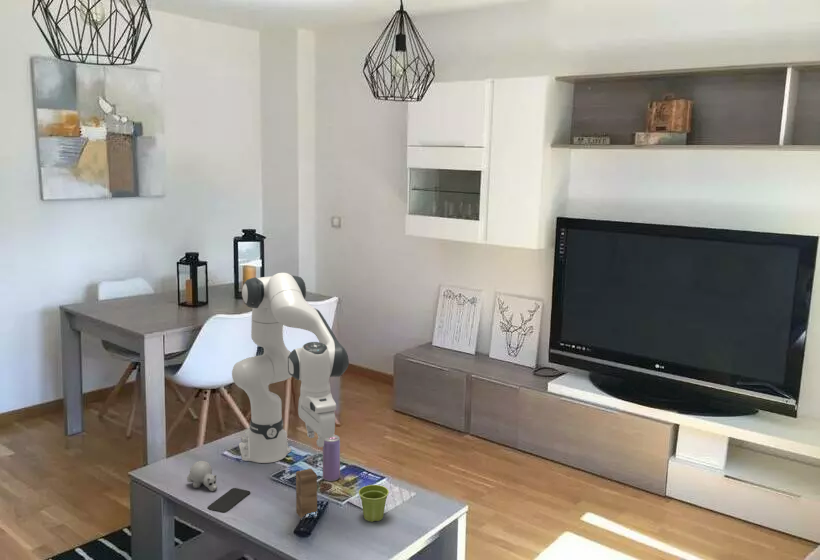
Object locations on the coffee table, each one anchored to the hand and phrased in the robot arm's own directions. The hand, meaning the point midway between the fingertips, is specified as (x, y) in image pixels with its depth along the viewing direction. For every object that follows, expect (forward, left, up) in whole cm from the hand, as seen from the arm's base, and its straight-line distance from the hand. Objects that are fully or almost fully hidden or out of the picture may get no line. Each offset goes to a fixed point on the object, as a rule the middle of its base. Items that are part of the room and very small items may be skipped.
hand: (315, 441), depth 213 cm
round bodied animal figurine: (-40, -24, -28) cm, 54 cm away
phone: (-28, -19, -28) cm, 43 cm away
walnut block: (-8, 0, -27) cm, 28 cm away
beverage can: (-28, +17, -28) cm, 42 cm away
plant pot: (+3, +18, -28) cm, 33 cm away
